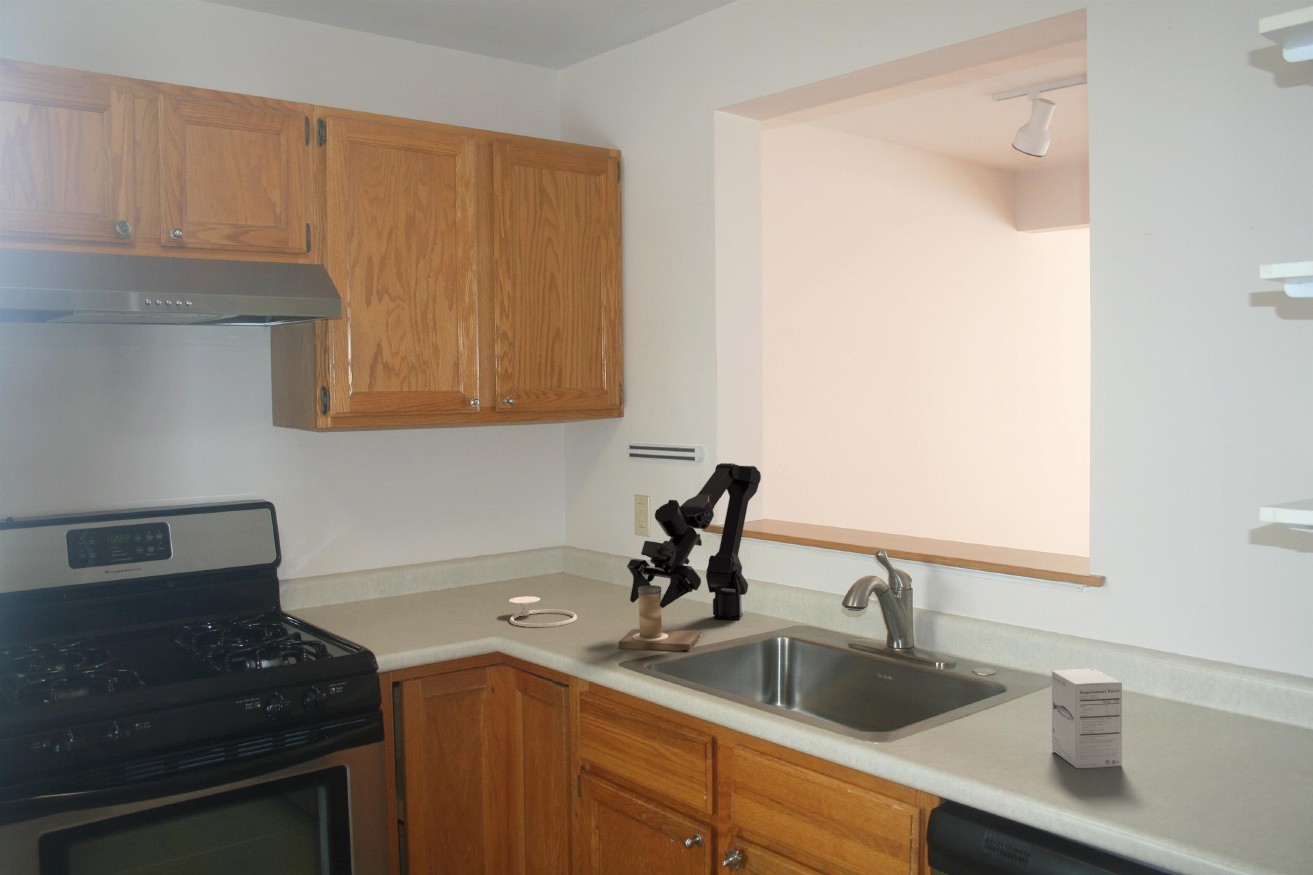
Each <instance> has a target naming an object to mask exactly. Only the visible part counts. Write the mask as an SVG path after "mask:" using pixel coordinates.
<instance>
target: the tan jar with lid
mask: <svg viewBox="0 0 1313 875" xmlns="http://www.w3.org/2000/svg"><path fill="white" fill-rule="evenodd" d="M638 593H639V598H638V619H639V620H638V621H639V622H638V624H639V626H638V629H639V633H640V637H641V638H645V639H655V638H660V637H661V636H662V630H663V628H662V626H663V625H662V608H661V607H660V603H661V600H662V586H661V585H652V584H651V585H647V586H640V587H638Z"/></svg>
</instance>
